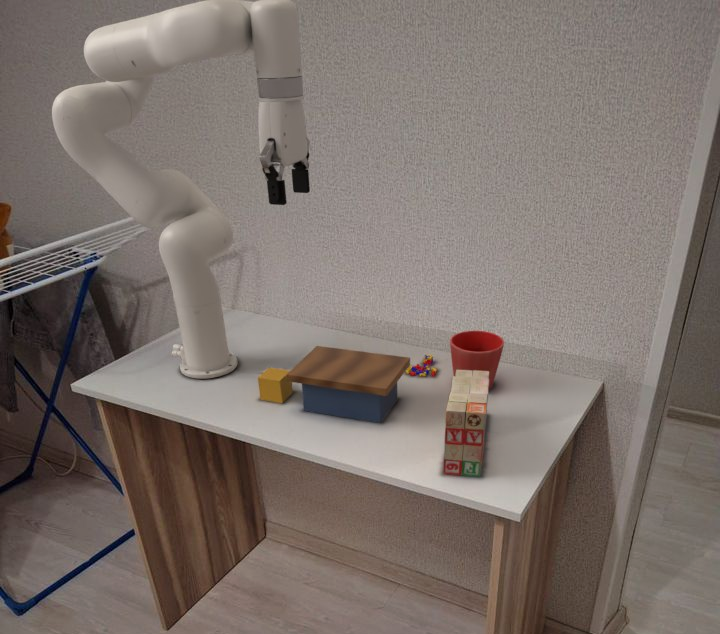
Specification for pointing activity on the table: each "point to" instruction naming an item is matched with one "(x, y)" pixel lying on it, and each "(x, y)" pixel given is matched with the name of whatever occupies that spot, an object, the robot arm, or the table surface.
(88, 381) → the table surface
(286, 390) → the mustard block
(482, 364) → the flower pot
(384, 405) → the blue box
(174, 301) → the robot arm
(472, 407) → the stack of blocks
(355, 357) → the wooden board
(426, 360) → the building blocks
